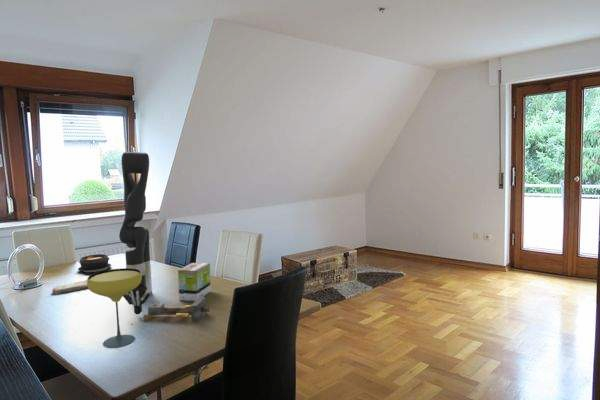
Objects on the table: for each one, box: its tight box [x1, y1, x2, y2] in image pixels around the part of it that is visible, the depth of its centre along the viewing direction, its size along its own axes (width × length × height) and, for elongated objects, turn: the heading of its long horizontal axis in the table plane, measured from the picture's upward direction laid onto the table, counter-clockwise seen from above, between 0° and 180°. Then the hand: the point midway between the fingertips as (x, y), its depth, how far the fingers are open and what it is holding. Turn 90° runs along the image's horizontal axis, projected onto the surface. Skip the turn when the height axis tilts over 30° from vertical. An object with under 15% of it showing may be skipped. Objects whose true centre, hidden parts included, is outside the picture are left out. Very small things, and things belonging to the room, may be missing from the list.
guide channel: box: [142, 296, 210, 324], centre depth 177 cm, size 26×11×7 cm, turn 84°
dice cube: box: [147, 302, 166, 315], centre depth 178 cm, size 5×5×5 cm
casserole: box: [77, 253, 112, 273], centre depth 260 cm, size 25×19×8 cm
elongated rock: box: [51, 279, 89, 295], centre depth 226 cm, size 35×5×10 cm
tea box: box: [177, 262, 212, 302], centre depth 204 cm, size 15×10×15 cm
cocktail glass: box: [86, 267, 142, 349], centre depth 153 cm, size 18×18×25 cm
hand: (138, 313), depth 179 cm, fingers closed
